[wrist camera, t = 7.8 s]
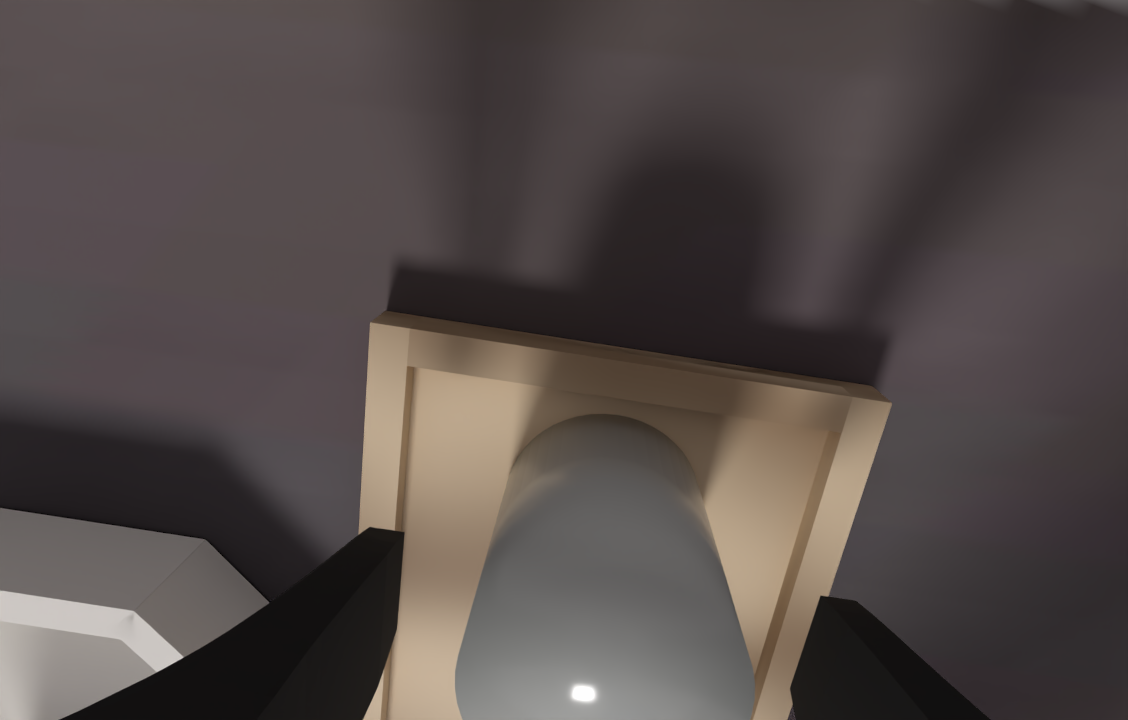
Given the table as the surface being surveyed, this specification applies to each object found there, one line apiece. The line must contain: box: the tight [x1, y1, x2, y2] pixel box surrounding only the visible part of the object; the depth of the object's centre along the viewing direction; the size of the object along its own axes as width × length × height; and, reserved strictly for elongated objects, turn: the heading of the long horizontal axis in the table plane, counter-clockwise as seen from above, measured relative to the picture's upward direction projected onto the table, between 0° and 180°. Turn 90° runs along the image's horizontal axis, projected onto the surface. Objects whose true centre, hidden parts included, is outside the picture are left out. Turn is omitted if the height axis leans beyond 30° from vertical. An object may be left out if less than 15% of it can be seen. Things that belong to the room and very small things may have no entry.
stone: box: [455, 414, 755, 720], centre depth 12 cm, size 4×4×5 cm
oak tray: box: [359, 311, 892, 720], centre depth 16 cm, size 14×11×1 cm
